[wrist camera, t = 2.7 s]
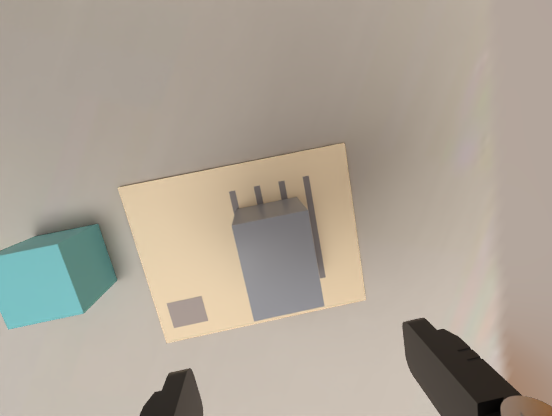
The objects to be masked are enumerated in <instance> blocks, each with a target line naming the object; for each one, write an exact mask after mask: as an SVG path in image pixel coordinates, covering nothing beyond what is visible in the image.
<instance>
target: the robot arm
mask: <svg viewBox="0 0 552 416" xmlns="http://www.w3.org/2000/svg"><path fill="white" fill-rule="evenodd" d="M402 327H403V337H404V346H405V355H406V360H407V364H408V366H409V369H410V371H411V373H412V375H413V376H414V378H415V379H416V381H417V382H418V383H419V385H420V386H421V388H422V389H423V391H424V392H425V393H426V395H427V396H428V398H429V399H430V401H431V402H432V404H433V405H434V406H435V408H436V409H437V411H438V412H439V414H440V415H441V416H552V406H550V405H548V404H547V403H545V402H543V401H540V400H538V399H535V398H532V397H527V396H522V395H521V394H520V393H519V392H518V391H516V389H514V388H513V387H512V386H511V385H510V384H509V383H508V382H507V381H506V380H505V379H504V378H503V377H502V376H500V375H499V374H498V373H497V372H496V371H495V370H494V369H493V368H492V367H491V366H490V365H489V364H488V363H486V362H485V361H484V360H483V359H481V358H480V356H479V355H478V354H477V353H476V352H475V351H473V350H471V349H470V347H469V346H468V345H467V344H466V343H465V342H464V341H463V340H462V339H461V338H459V337H458V336H456V335H454V334H452V333H450V332H449V331H447V330H445V329H440V330H436V329H435V328H434V327H433V326H432V325H431V324H430V323H429V322H428V321H427V320H426V319H425V318H419V319H415V320H410V321H406V322H403V326H402ZM140 416H203V406H202V401H201V397H200V394H199V391H198V387H197V384H196V381H195V377H194V374H193V371H192V370H191V369H190V368H189V369H185V370H180V371H176V372H171V373H169V374H168V376H167V378H166V381H165V384H164V386H163V389H162V391H158V392H155V393H154V394H153V395H152V396H151V398H150V399H149V400H148V401H147V403H146V404H145V405H144V406H143V409H142V411H141V413H140Z"/></svg>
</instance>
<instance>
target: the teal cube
mask: <svg viewBox="0 0 552 416" xmlns="http://www.w3.org/2000/svg"><path fill="white" fill-rule="evenodd" d="M116 281H117V278H116V275H115V272H114V269H113V266H112V263H111V261H110V258H109V255H108V252H107V249H106V246H105V243H104V240H103V237H102V234H101V231H100V228H99V225H98V224H94V225H89V226H84V227H79V228H74V229H69V230H64V231H60V232H55V233H50V234H45V235H40V236H35V237H32V238H30V239H28V240H25V241H23V242H20V243H18V244H15V245H13V246H11V247H8V248H6V249H3V250H1V251H0V312H1V314H2V317H3V319H4V321H5V323H6V326H7V328H8V329H13V328H18V327H22V326H27V325H32V324H36V323H41V322H46V321H51V320H55V319H60V318H65V317H69V316H74V315H79V314H84V313H85V312H86V311H87V310H88V309H89V308H90V307H91V306H92V305H93V304H94V303H95V302H96V301H97V300H98V299H99V298H100V297H101V296H102V295H103V294H104V293H105V292H106V291H107V290H108V289H109V288H110V287H111V286H112V285H113V284H114V283H115V282H116Z"/></svg>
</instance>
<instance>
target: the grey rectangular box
mask: <svg viewBox="0 0 552 416" xmlns="http://www.w3.org/2000/svg"><path fill="white" fill-rule="evenodd" d="M232 230H233V234H234V238H235V243H236V247H237V251H238V255H239V260H240V264H241V268H242V272H243V277H244V281H245V285H246V290H247V294H248V298H249V302H250V307H251V311H252V315H253V319H254V321H259V320H263V319H268V318H273V317H277V316H282V315H286V314H291V313H296V312H300V311H305V310H310V309H314V308H319V307H323V306H324V300H323V294H322V288H321V282H320V277H319V271H318V265H317V259H316V253H315V247H314V242H313V236H312V230H311V224H310V218H309V212H308V209H307V208H306V207H305V206H304V205H303V203H302V202H301V201H300V200H299V199H298V198H297V197H293V198H289V199H284V200H279V201H274V202H269V203H264V204H259V205H254V206H249V207H244V208H239V209H236V211H235V215H234V219H233V222H232Z"/></svg>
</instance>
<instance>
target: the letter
mask: <svg viewBox="0 0 552 416" xmlns="http://www.w3.org/2000/svg"><path fill="white" fill-rule="evenodd" d="M118 190H119V194H120V197H121V200H122V203H123V206H124V209H125V213H126V216H127V219H128V222H129V225H130V228H131V232H132V235H133V238H134V241H135V244H136V247H137V251H138V254H139V257H140V260H141V263H142V266H143V270H144V273H145V276H146V279H147V282H148V286H149V289H150V292H151V295H152V298H153V301H154V305H155V308H156V311H157V314H158V317H159V320H160V324H161V327H162V330H163V333H164V336H165V339H166V343H170V342H175V341H180V340H184V339H189V338H193V337H198V336H203V335H207V334H212V333H216V332H221V331H226V330H230V329H235V328H239V327H244V326H249V325H253V324H258V323H262V322H267V321H272V320H276V319H281V318H285V317H290V316H295V315H299V314H304V313H308V312H313V311H318V310H322V309H327V308H331V307H336V306H341V305H345V304H350V303H354V302H359V301H364V300H366V297H365V289H364V282H363V274H362V267H361V260H360V252H359V245H358V238H357V230H356V223H355V215H354V208H353V201H352V193H351V186H350V179H349V171H348V164H347V156H346V149H345V143H340V144H335V145H330V146H325V147H320V148H315V149H309V150H304V151H299V152H294V153H289V154H284V155H279V156H274V157H269V158H264V159H259V160H254V161H249V162H244V163H239V164H234V165H229V166H224V167H219V168H214V169H208V170H203V171H198V172H193V173H188V174H183V175H178V176H173V177H168V178H163V179H158V180H153V181H148V182H143V183H138V184H133V185H128V186H123V187H118ZM293 197H297V198H298V199H299V200H300V201H301V202H302V203H303V205H304V206H305V207H306V208H307V209H308V212H309V218H310V224H311V230H312V236H313V242H314V247H315V253H316V259H317V265H318V271H319V277H320V282H321V288H322V294H323V300H324V306H323V307H319V308H314V309H310V310H305V311H300V312H296V313H291V314H286V315H282V316H277V317H273V318H268V319H263V320H259V321H254V319H253V315H252V311H251V307H250V302H249V298H248V294H247V290H246V285H245V281H244V277H243V272H242V268H241V264H240V260H239V255H238V251H237V247H236V243H235V238H234V234H233V230H232V222H233V219H234V215H235V211H236V209H239V208H244V207H249V206H254V205H259V204H264V203H269V202H274V201H279V200H284V199H289V198H293Z"/></svg>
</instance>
